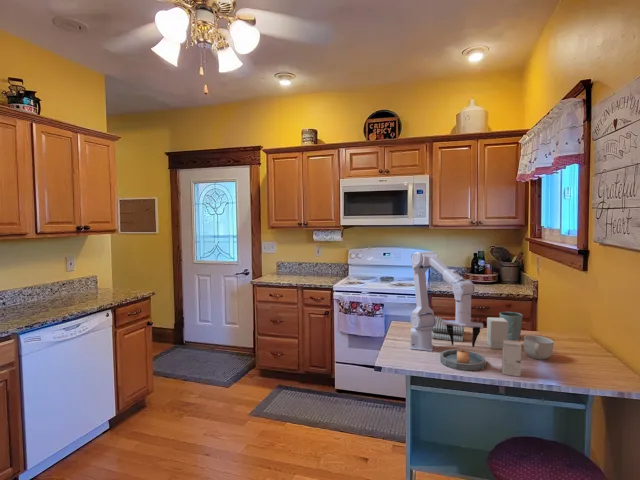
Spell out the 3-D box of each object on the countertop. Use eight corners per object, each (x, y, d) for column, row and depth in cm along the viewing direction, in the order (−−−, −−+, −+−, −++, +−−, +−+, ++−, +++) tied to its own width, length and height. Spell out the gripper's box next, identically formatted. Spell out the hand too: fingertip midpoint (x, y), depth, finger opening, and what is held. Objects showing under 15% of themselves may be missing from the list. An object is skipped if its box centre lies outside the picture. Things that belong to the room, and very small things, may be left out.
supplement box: (508, 349, 166) (508, 321, 165) (490, 348, 167) (490, 320, 167) (503, 344, 173) (503, 317, 173) (486, 343, 175) (486, 316, 174)
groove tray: (440, 367, 145) (440, 361, 145) (440, 353, 162) (440, 347, 161) (487, 373, 140) (487, 366, 140) (483, 357, 156) (483, 351, 156)
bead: (456, 365, 145) (456, 352, 145) (456, 361, 149) (457, 348, 149) (468, 366, 144) (469, 353, 143) (468, 362, 148) (468, 350, 148)
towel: (431, 340, 181) (431, 324, 181) (433, 329, 199) (433, 315, 198) (464, 343, 176) (464, 326, 176) (463, 332, 193) (463, 317, 193)
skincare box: (502, 374, 139) (503, 342, 138) (501, 370, 143) (502, 339, 142) (521, 376, 136) (521, 344, 136) (519, 372, 141) (520, 340, 140)
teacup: (528, 350, 164) (528, 333, 164) (556, 356, 156) (556, 338, 156) (517, 359, 154) (517, 340, 154) (547, 366, 147) (547, 346, 146)
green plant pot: (497, 338, 182) (497, 314, 181) (501, 333, 190) (501, 310, 189) (520, 342, 176) (521, 317, 175) (523, 336, 184) (523, 312, 184)
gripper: (443, 312, 145) (443, 346, 146) (484, 315, 140) (483, 350, 141) (443, 308, 152) (443, 341, 152) (482, 310, 147) (481, 344, 148)
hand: (462, 345), depth 147 cm, fingers open, 7 cm apart
